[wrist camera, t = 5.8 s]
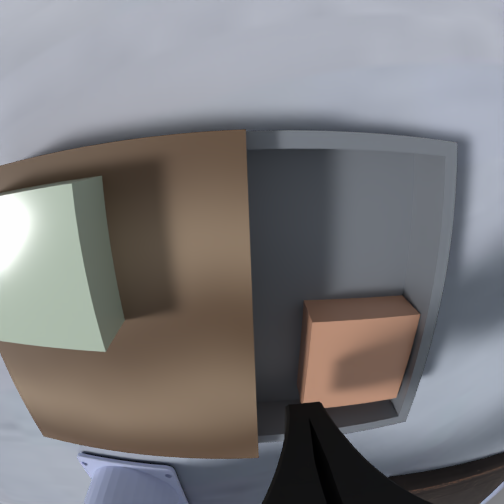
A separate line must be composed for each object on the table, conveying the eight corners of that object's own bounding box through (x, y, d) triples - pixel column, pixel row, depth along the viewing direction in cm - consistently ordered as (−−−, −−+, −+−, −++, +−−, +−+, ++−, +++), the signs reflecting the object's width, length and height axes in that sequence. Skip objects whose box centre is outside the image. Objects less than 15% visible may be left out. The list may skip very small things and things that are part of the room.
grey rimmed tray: (387, 388, 17) (405, 421, 14) (255, 403, 17) (257, 442, 14) (419, 141, 13) (457, 142, 10) (244, 135, 13) (245, 131, 10)
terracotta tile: (302, 409, 14) (296, 383, 16) (396, 397, 14) (383, 375, 16) (312, 322, 13) (303, 300, 14) (420, 314, 13) (401, 295, 15)
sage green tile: (124, 320, 11) (105, 351, 9) (20, 315, 11) (-5, 339, 9) (101, 175, 9) (71, 183, 7) (-7, 194, 9) (-41, 205, 7)
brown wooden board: (255, 403, 17) (258, 457, 13) (67, 393, 17) (43, 436, 13) (244, 135, 13) (245, 129, 9) (8, 168, 12) (-44, 179, 9)
